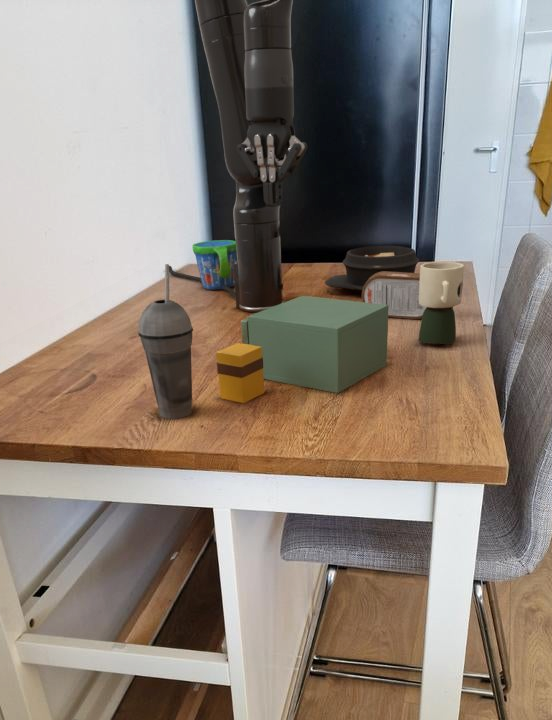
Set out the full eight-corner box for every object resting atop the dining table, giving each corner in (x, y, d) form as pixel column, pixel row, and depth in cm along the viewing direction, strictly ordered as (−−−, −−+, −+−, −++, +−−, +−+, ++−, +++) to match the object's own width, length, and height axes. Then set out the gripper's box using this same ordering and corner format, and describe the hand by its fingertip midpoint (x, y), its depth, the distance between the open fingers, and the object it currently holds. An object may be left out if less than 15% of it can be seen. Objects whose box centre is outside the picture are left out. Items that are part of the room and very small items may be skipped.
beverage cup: (151, 405, 103) (131, 261, 93) (201, 401, 103) (186, 258, 93) (148, 424, 96) (126, 272, 86) (201, 420, 97) (185, 268, 87)
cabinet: (251, 376, 112) (247, 316, 107) (304, 351, 122) (302, 295, 117) (338, 393, 103) (337, 328, 98) (386, 364, 114) (388, 304, 109)
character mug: (464, 351, 118) (471, 270, 111) (421, 353, 118) (425, 272, 111) (451, 333, 127) (457, 258, 121) (411, 335, 127) (415, 260, 121)
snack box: (241, 388, 107) (237, 342, 104) (265, 392, 105) (262, 346, 101) (219, 398, 104) (215, 351, 100) (243, 403, 101) (240, 356, 98)
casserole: (318, 299, 156) (318, 259, 151) (331, 281, 171) (331, 244, 167) (434, 299, 150) (437, 258, 146) (437, 281, 166) (439, 243, 162)
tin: (438, 317, 137) (441, 272, 133) (434, 321, 135) (437, 276, 131) (364, 313, 143) (365, 269, 139) (359, 317, 141) (360, 273, 136)
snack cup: (192, 283, 177) (188, 240, 172) (234, 279, 179) (231, 236, 174) (201, 296, 164) (196, 250, 159) (245, 291, 166) (242, 246, 161)
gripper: (318, 83, 108) (318, 205, 117) (250, 87, 115) (255, 202, 124) (290, 82, 103) (293, 210, 112) (220, 87, 110) (228, 207, 119)
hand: (273, 206), depth 118 cm, fingers closed
